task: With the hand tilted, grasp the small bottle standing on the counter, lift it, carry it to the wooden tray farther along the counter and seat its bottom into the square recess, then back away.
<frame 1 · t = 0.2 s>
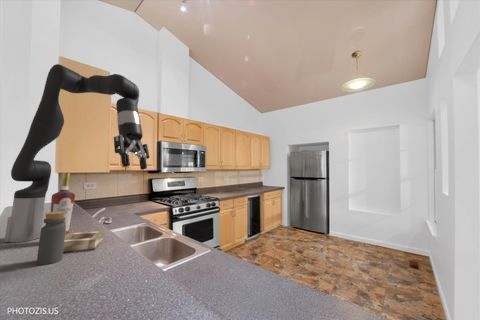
hand: (135, 167, 69), 31 cm above the countertop, tool tilted 15°, fingers open, 8 cm apart
wooden tray: (80, 246, 75), on the countertop
bottle: (49, 261, 61), on the countertop
liquor: (58, 242, 79), on the countertop
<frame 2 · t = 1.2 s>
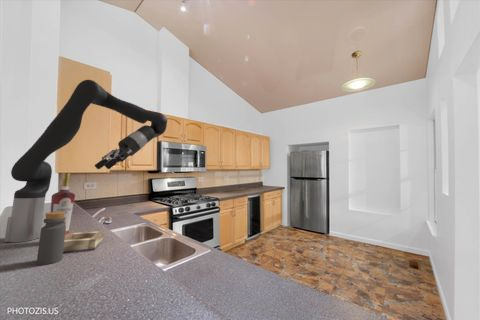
hand: (101, 167, 74), 31 cm above the countertop, tool tilted 45°, fingers open, 8 cm apart
nothing on the countertop moved.
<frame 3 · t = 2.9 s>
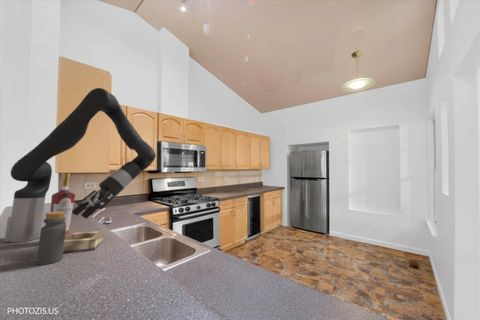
hand: (78, 215, 68), 13 cm above the countertop, tool tilted 45°, fingers open, 8 cm apart
nothing on the countertop moved.
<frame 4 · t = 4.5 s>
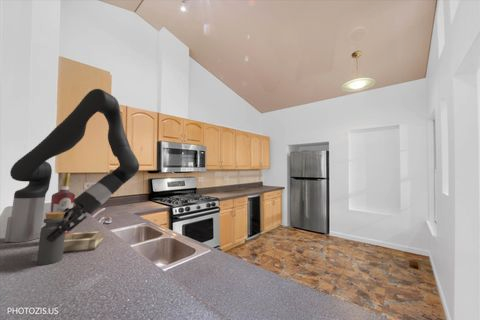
hand: (45, 238, 61), 7 cm above the countertop, tool tilted 45°, fingers closed on bottle, 6 cm apart
bottle: (49, 261, 61), on the countertop, touching gripper
everything else where it was.
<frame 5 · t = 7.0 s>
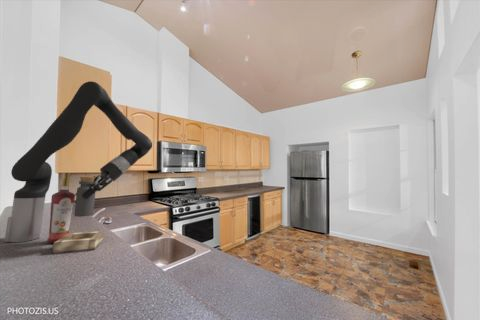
hand: (80, 196, 75), 19 cm above the countertop, tool tilted 45°, fingers closed on bottle, 6 cm apart
bottle: (83, 215, 76), point 12 cm above the countertop, touching gripper
everything else where it was.
when the fingers open (9 cm above the countertop, at t = 9.3 s): bottle drops 1 cm, resting on wooden tray.
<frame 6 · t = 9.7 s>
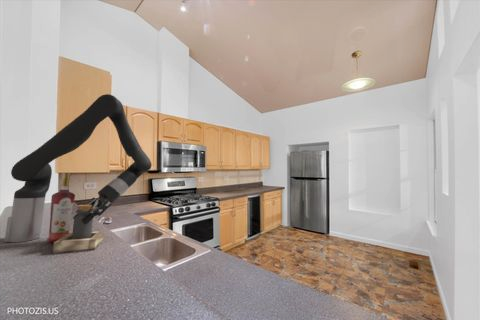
hand: (78, 221, 75), 10 cm above the countertop, tool tilted 45°, fingers open, 8 cm apart
bottle: (80, 244, 75), resting on wooden tray
everything else where it was.
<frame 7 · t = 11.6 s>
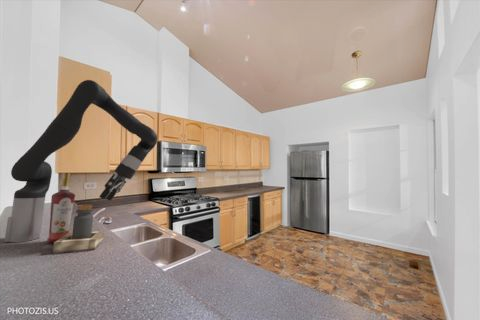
hand: (105, 199, 82), 18 cm above the countertop, tool tilted 30°, fingers open, 8 cm apart
nothing on the countertop moved.
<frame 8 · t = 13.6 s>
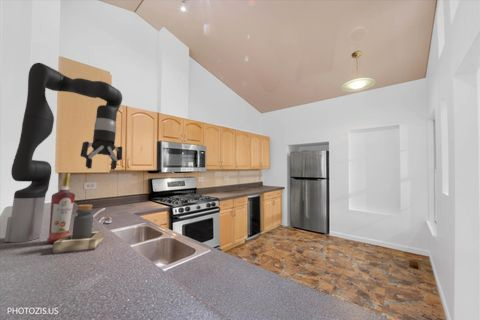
hand: (101, 169, 80), 30 cm above the countertop, tool pointing down, fingers open, 8 cm apart
nothing on the countertop moved.
at the end: bottle 0.4 cm off-centre on the wooden tray, point 0.4 cm above the wooden tray's base; bottle tilted 0°; the gripper is holding nothing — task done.
